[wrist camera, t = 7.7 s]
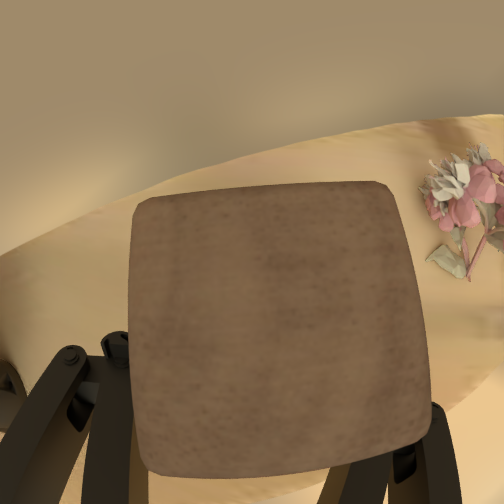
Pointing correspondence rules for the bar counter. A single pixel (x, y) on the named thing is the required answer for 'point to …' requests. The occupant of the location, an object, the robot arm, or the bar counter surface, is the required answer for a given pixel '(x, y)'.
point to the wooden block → (274, 330)
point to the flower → (466, 205)
